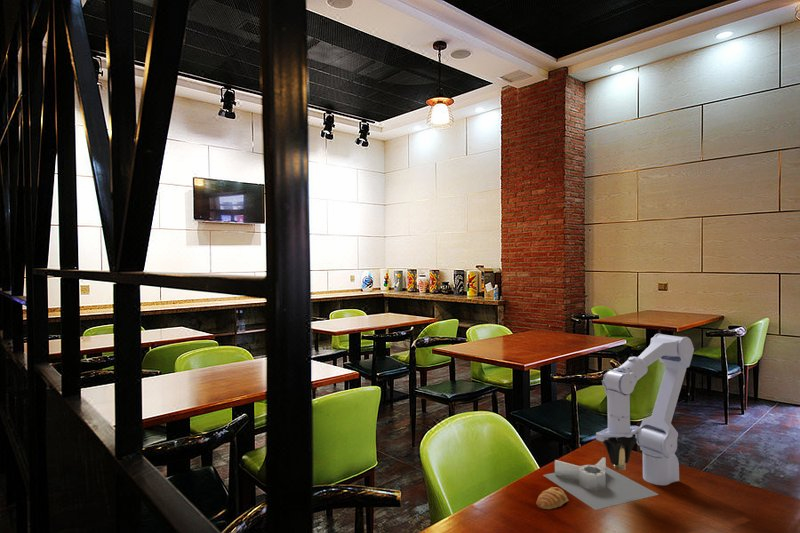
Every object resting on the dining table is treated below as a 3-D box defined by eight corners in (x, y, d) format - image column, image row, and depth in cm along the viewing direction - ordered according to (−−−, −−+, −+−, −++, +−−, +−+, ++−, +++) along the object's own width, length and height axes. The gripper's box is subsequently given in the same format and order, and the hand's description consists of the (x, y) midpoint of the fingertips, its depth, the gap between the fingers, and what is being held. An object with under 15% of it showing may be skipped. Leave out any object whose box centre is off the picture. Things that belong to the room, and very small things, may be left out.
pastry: (552, 517, 123) (551, 502, 123) (529, 507, 128) (529, 493, 128) (570, 504, 129) (569, 490, 129) (548, 495, 134) (547, 482, 134)
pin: (619, 464, 135) (619, 443, 135) (627, 469, 132) (627, 447, 132) (611, 466, 134) (610, 445, 134) (619, 470, 131) (619, 449, 131)
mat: (600, 466, 152) (600, 463, 152) (658, 498, 131) (658, 494, 131) (542, 478, 144) (542, 475, 144) (595, 513, 124) (595, 509, 124)
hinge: (595, 466, 149) (594, 452, 149) (628, 484, 137) (627, 469, 137) (554, 474, 144) (553, 460, 144) (584, 494, 132) (584, 478, 132)
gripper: (609, 422, 126) (610, 473, 126) (650, 415, 131) (650, 464, 131) (590, 414, 133) (590, 462, 133) (629, 408, 138) (630, 454, 138)
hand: (619, 462), depth 133 cm, fingers closed on pin, 3 cm apart
